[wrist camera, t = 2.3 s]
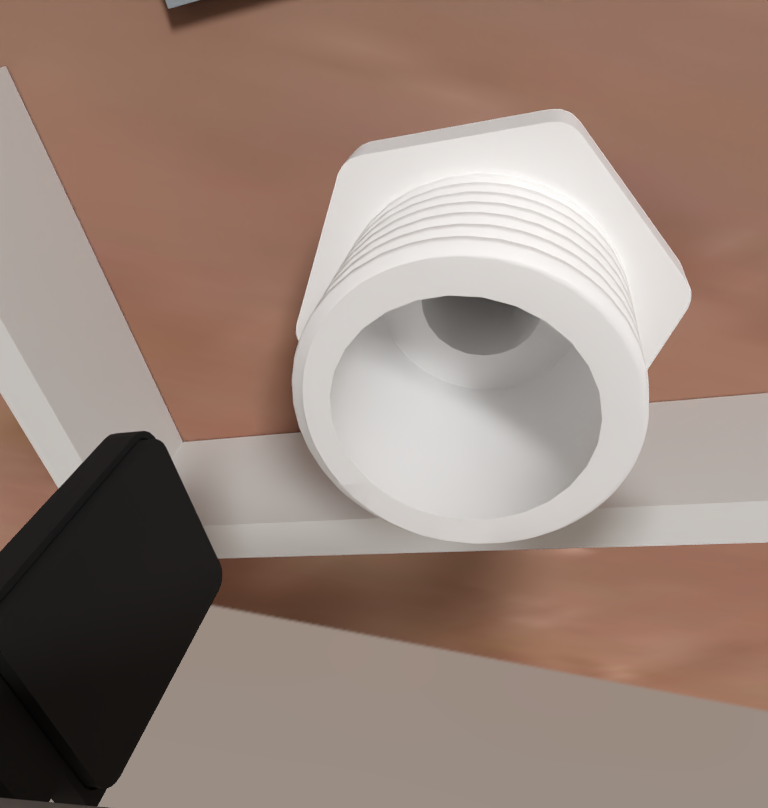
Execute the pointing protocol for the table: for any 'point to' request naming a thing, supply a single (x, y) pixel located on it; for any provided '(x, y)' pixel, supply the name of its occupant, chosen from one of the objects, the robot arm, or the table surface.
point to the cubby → (288, 453)
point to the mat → (178, 3)
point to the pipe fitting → (483, 329)
